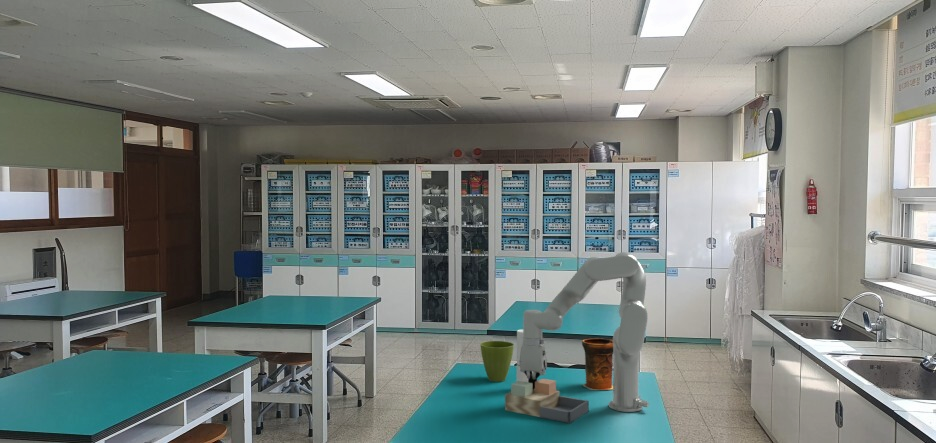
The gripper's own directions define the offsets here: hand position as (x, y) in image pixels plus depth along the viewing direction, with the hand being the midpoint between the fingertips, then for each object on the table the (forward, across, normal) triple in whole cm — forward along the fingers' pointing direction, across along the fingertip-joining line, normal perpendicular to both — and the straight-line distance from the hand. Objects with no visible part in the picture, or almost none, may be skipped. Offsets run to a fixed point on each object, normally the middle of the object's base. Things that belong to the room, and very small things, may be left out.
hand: (532, 388), depth 261 cm
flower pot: (+7, +31, -24) cm, 39 cm away
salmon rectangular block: (0, -6, 0) cm, 6 cm away
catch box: (+6, -16, +4) cm, 17 cm away
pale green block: (0, 0, +8) cm, 8 cm away
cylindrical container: (+7, +12, -17) cm, 22 cm away
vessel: (+7, -11, -39) cm, 41 cm away
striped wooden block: (+6, -2, +4) cm, 8 cm away
